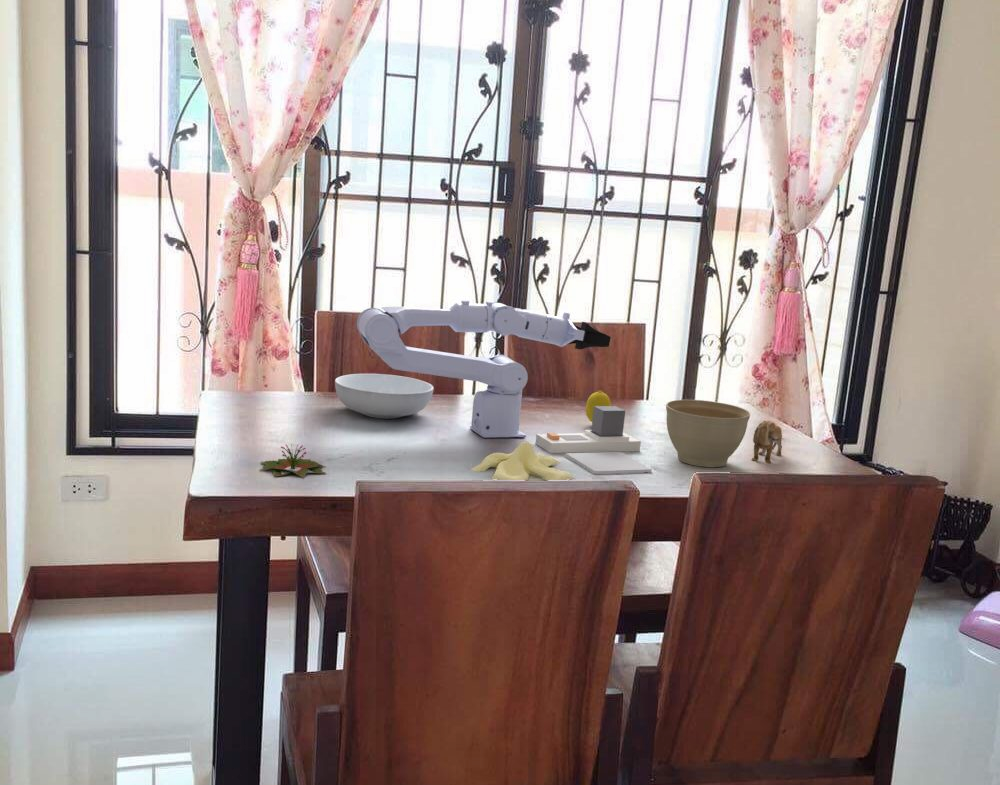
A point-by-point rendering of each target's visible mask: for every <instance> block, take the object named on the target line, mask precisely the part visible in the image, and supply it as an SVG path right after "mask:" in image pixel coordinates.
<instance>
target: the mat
mask: <svg viewBox="0 0 1000 785" xmlns="http://www.w3.org/2000/svg"><path fill="white" fill-rule="evenodd" d="M565 458H567V459H569V460H571V461H573V462H574V463H576V464H578V465H579V466H580V467H582V468H584V469H585V470H587V471H589V472H590V473H591V474H593V475H611V474H615V475H616V474H617V475H618V473H619V474H641V473H644V472H648V473H652V472H653V471H652V470H653V469H652V468H650V467H649V466H646V465H645V464H644V463H641V462H639V461H638V460H636V459H634V458H632V457H631V456H628V455H626V454H625V453H623V452H622V451H615V452H574V453H565Z"/></svg>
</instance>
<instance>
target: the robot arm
mask: <svg viewBox="0 0 1000 785" xmlns="http://www.w3.org/2000/svg"><path fill="white" fill-rule="evenodd" d="M570 315H571V314H570V313H569V312H563V313H562V317H561V316H556V315H552V314H548V313H544V312H539V311H534V310H529V309H524V308H523V309H522V308H519V307H513V306H510V305H506V304H504V303H501V302H496V301H486V302H485V303H470V301H469V300H466V299H464V300H463V299H462V300H461V302H460V303H459V302H456V303H454V304H453V305H452V306H451V307H450V308H447V309H446V308H435V307H433V308H431V307H430V308H429V307H416V306H414V307H413V306H383V307H381V308H379V307H377V308H376V307H368V308H366V309H364V310H362V312H360V314H359V315H358V317H357V320H356V328H357V330H358V333H359V334H360V337H361V339H362V340H363V342H364V343H365V345H367V347H369V348H370V349H371V350H372V351H373V352H374V353H375V354H376V355H377V356H378V357H379V358H380V359H381V360H382V361H383V362H384V363H385V364H386V365H387V366H388V367H389V368H391V369H393V370H397V371H404V372H409V373H410V372H411V373H416V374H424V375H431V376H432V375H433V376H437V377H438V376H439V377H445V378H452V379H459V380H466V381H472V382H478V383H481V384H485V385H487V386H486V387H487V388H486V389H485V390H479V391H477V392H475V394H474V397H473V402H472V415H471V425H470V426H469V428H470V430H472V431H474V433H476V434H478V435H479V436H480V437H482V438H487V439H489V438H526V436H527V434H525V433H524V432H522V431H521V430H520V420H521V419H520V418H521V408H522V396H523V389H524V388H525V387H526V384H527V383H528V379H529V377H528V376H529V375H528V372H527V370H526V367H525V366H524V365H522V364H521V363H518V362H516V361H515V360H512V359H511V358H510V357H509V356H507V355H505V354H496V355H493V356H478V357H477V356H471V355H464V354H458V353H451V352H444V351H439V350H432V349H425V348H420V347H419V348H417V347H412V346H407V345H405V343H404V342H403V340H402V339H401V337H400V335H404V333H405V332H407V331H408V330H409V329H411V327H427V326H428V327H432V326H439V327H440V326H449V328H451V329H452V330H453V331H454V332H455V333H488V332H490V331H491V332H494V333H496V334H499V335H500V336H503V337H504V336H505V337H506V336H510V335H513V336H517V337H518V338H522V339H526V340H527V339H528V340H531V341H537V342H542V343H546V344H550V345H555V346H557V347H560V348H563V347H565V346H566V345H571V344H572V345H573V344H575V345H574V349H575V350H583V349H587V348H593V347H594V348H607V347H609V346H610V343H611V336H609V335H608V334H606V333H603V332H601V331H599V330H597V329H595V328H594V327H592V326H591V325H590V324H589V323H588V322H586V321H581V325H580V326H577V325H576V324H575V323H573V321H572V320H571V319H570Z"/></svg>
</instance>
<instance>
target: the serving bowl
mask: <svg viewBox="0 0 1000 785" xmlns="http://www.w3.org/2000/svg"><path fill="white" fill-rule="evenodd" d="M334 386H335V392H336V393H335V394H336V395H337V397H338V399H339V400H340V402H341V403H342V404H343V405H344V406H345V407H347V408H348V409H350V410H352V411H354V412H356V413H358V414H359V413H360V414H362V415H363V416H367V417H370V418H374V419H375V418H376V419H398V418H403V417H407V416H411V415H414V414H417V413H419V412H421V411H423V409H425V408H426V407H427V406H428V405H429V404H430V401H431V399H432V396H433V394H434V390H435V389H434V386H433V384H431V383H429V382H426V381H424V380H421V379H418V378H414V377H410V376H409V377H408V376H401V375H395V374H385V373H351V374H346V375H345V374H344V375H341V376H338V377H336V378H335V380H334Z"/></svg>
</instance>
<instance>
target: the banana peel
mask: <svg viewBox="0 0 1000 785" xmlns="http://www.w3.org/2000/svg"><path fill="white" fill-rule="evenodd" d="M560 463H561V462H560V461H559V460H558V459H556V458H555V457H553V456H550V455H545V454H544V455H543V454H537V453H536V452H535V449H534V445H533V444H532V443H530V442H528V441H521V442H520V444H519V445H517V446H516V447H515V449H514V450H513V451H512V452H511V453H505V452H493V453H491V454H489V455H486V456H485V457H484V459H483V460H482V461H481V462H480V463H479V464H478V465H476V466H473V467H472V468H471V469H469V470H470V471H473V472H484V471H487V470H488V469H489V468H496V469H495V472H494V474H493V475H492V477H491V480H492V479H497V480H527V481H528V480H529V477H530V475H532V476H536V477H539V478H542V479H543V478H544V479H543V480H545V481H547V480H567V479H571V480H573V479H574V478H573V477H574V476H573V475H572V474H571V473H569V472H567V471H564V470H563V471H562V470H558V469H556V468H553V467H555V466H556V465H558V464H560ZM551 466H552V467H551ZM572 478H573V479H572Z"/></svg>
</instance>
